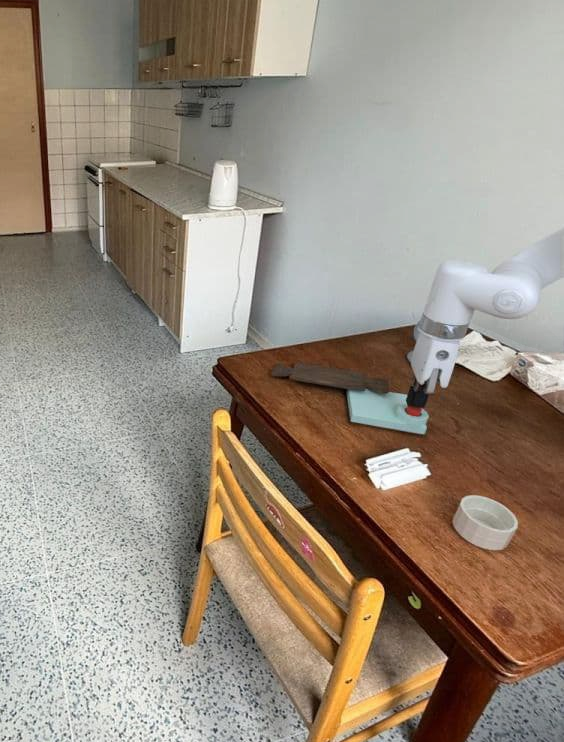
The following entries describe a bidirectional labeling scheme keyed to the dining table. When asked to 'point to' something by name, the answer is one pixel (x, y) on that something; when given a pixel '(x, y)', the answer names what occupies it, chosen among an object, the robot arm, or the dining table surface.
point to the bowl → (484, 522)
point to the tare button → (413, 411)
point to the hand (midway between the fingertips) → (414, 404)
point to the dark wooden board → (331, 377)
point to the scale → (384, 411)
